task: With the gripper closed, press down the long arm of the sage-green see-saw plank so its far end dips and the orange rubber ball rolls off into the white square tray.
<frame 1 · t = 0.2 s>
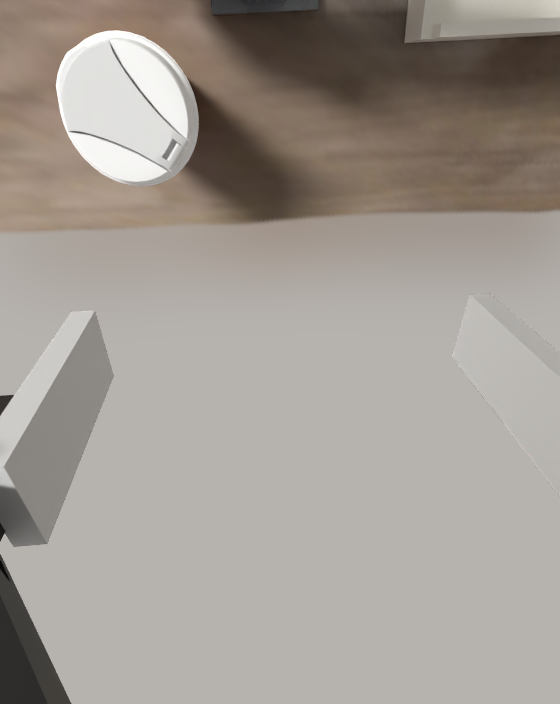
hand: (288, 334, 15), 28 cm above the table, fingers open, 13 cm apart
paper cup: (162, 103, 34), on the table
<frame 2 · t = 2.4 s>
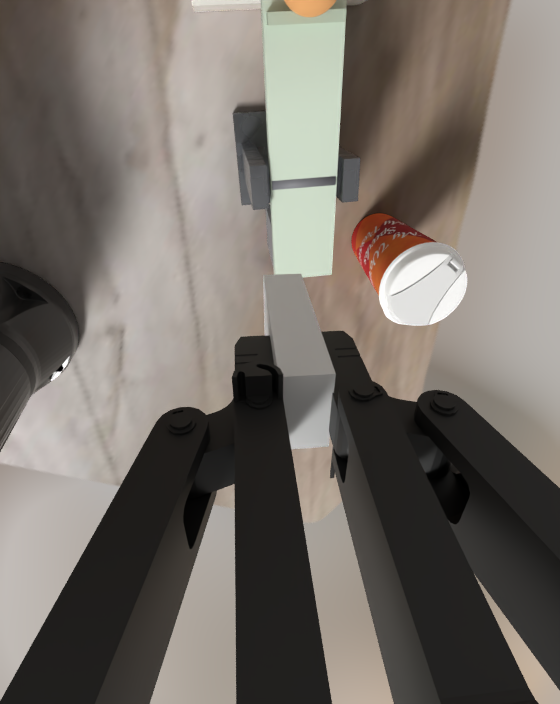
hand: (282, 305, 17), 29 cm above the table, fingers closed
lever: (297, 136, 31), point 9 cm above the table, hinge at 6.0°, touching ball
stand: (283, 157, 40), on the table
paper cup: (374, 237, 46), on the table
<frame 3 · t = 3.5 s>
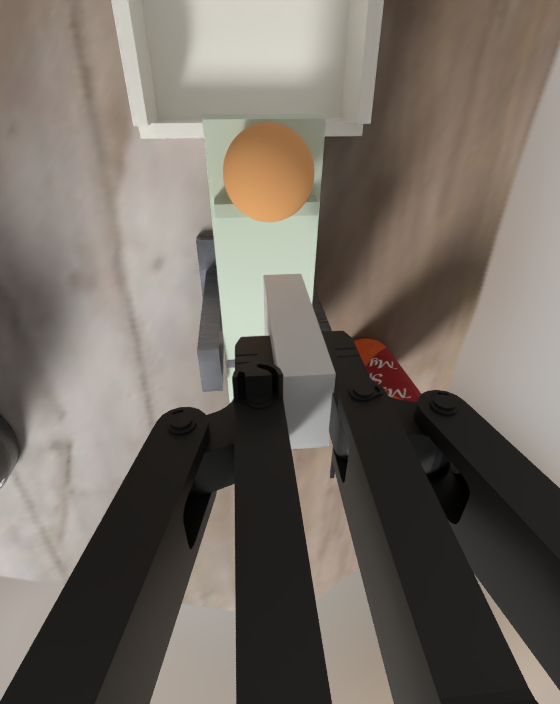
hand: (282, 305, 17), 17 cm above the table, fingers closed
lever: (263, 298, 26), point 9 cm above the table, hinge at 6.0°, touching ball
ball: (268, 174, 16), point 14 cm above the table, tilted 16°, touching lever
white square tray: (246, 1, 24), on the table
stand: (256, 282, 34), on the table
paper cup: (360, 361, 40), on the table
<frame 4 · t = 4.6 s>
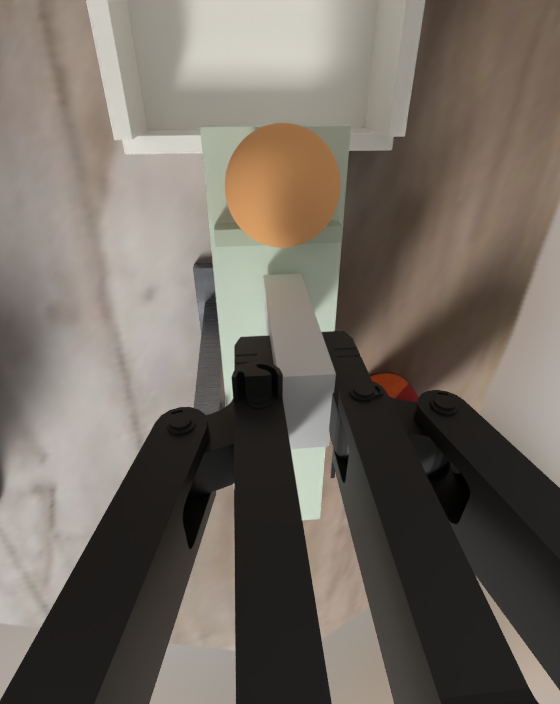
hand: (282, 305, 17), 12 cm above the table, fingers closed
lever: (272, 348, 22), point 8 cm above the table, hinge at -1.7°, touching ball, gripper
ball: (282, 188, 13), point 13 cm above the table, tilted 9°, touching lever
stand: (262, 313, 30), on the table
paper cup: (378, 397, 36), on the table
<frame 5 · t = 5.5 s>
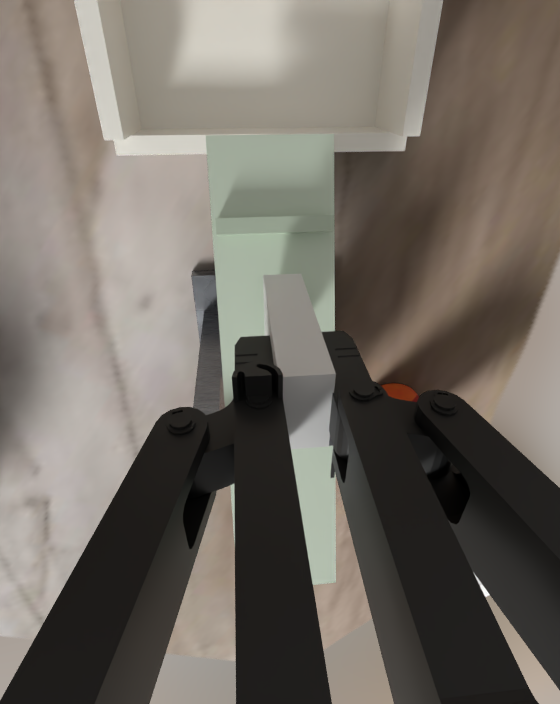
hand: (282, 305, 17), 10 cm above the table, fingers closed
lever: (274, 372, 21), point 8 cm above the table, hinge at -20.7°, touching gripper
stand: (264, 322, 28), on the table
paper cup: (384, 407, 34), on the table
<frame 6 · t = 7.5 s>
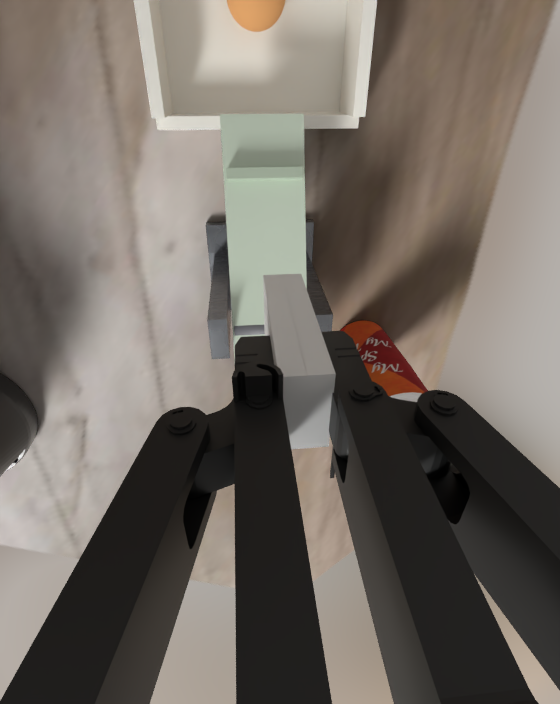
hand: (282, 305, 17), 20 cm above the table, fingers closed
lever: (266, 287, 30), point 8 cm above the table, hinge at -20.8°
white square tray: (254, 5, 27), on the table
stand: (261, 265, 37), on the table
paper cup: (358, 342, 43), on the table
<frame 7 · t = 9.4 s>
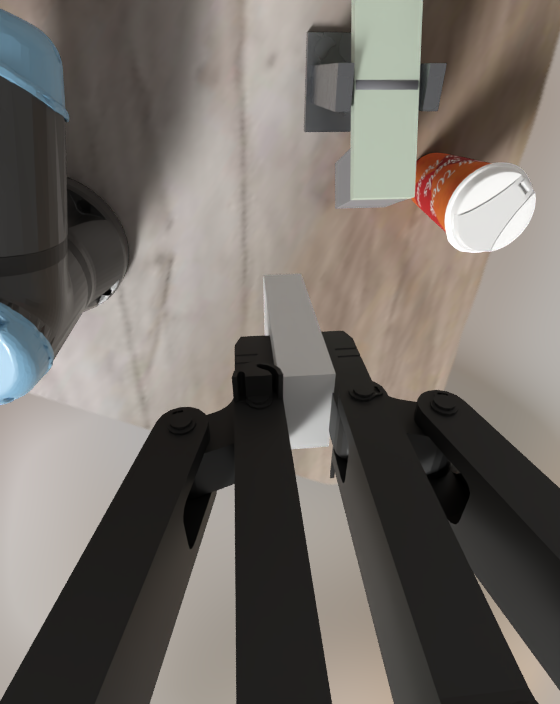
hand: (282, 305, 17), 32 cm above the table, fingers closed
lever: (374, 65, 33), point 8 cm above the table, hinge at -20.8°
stand: (350, 84, 40), on the table
paper cup: (429, 179, 46), on the table
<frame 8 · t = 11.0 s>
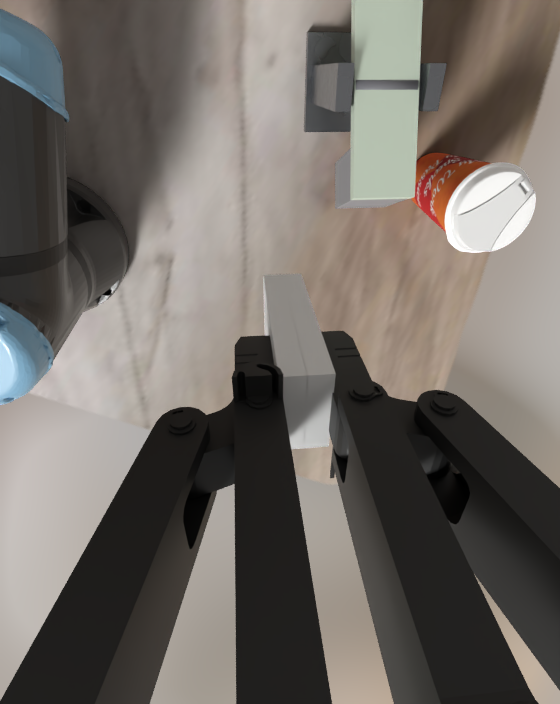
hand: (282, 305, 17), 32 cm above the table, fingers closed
lever: (374, 65, 33), point 8 cm above the table, hinge at -20.8°
stand: (350, 84, 40), on the table
paper cup: (429, 179, 46), on the table
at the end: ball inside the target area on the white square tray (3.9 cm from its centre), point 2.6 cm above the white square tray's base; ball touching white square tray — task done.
